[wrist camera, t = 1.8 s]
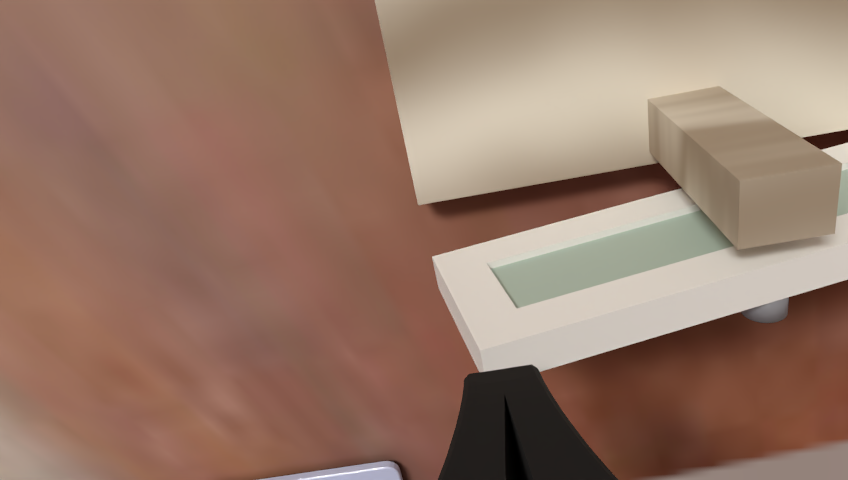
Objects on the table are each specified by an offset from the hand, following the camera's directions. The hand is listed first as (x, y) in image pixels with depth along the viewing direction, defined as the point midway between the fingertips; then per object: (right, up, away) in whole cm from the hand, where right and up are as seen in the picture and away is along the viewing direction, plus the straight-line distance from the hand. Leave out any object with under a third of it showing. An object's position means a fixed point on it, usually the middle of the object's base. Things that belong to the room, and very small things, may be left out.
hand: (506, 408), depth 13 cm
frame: (+5, +4, +6) cm, 9 cm away
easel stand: (+5, +10, +6) cm, 13 cm away
